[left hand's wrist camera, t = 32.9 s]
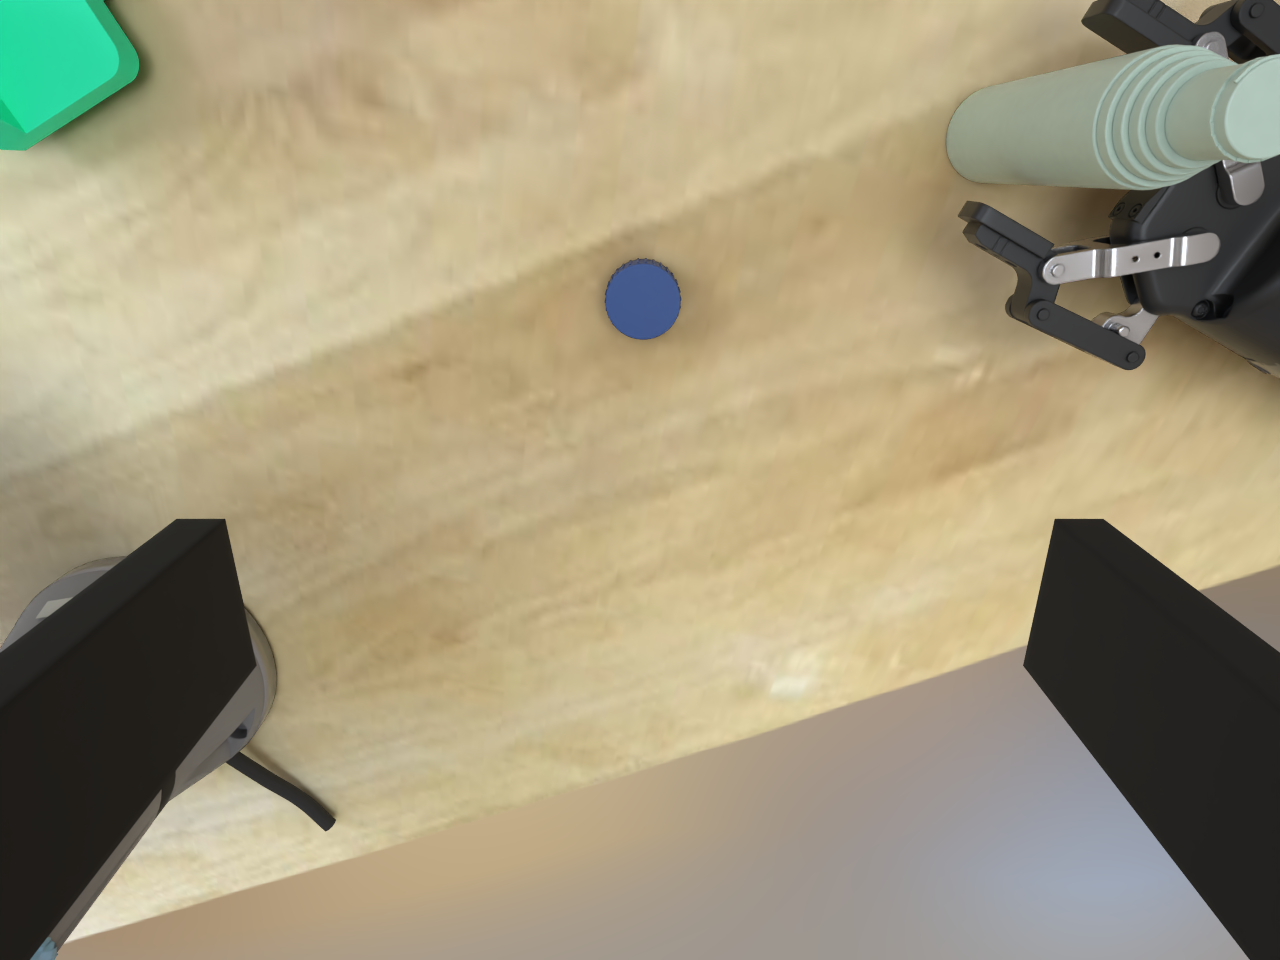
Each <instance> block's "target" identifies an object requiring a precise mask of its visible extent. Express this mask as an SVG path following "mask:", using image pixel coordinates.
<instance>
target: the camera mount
mask: <svg viewBox="0 0 1280 960" xmlns="http://www.w3.org/2000/svg"><path fill="white" fill-rule="evenodd" d="M103 1H104V0H0V149H1V150H27V149H29V148H30V147H32V146H33V145H35V144H36V143H38V142H39V141H41V140H42V139H44V138H46V137H47V136H49V135H50V134H52V133H53V132H55V131H56V130H58V129H59V128H61V127H63V126H64V125H66V124H67V123H69V122H70V121H72V120H73V119H75V118H76V117H78V116H80V115H81V114H83V113H84V112H86V111H87V110H89V109H90V108H92V107H93V106H95V105H97V104H98V103H100V102H101V101H103V100H104V99H106V98H107V97H109V96H110V95H112V94H114V93H115V92H117V91H118V90H120V89H121V88H123V87H124V86H126V85H127V84H129V83H131V82H132V81H133V80H134V79H135V78H136V76H137V74H138V71H139V59H138V55H137V53H136V51H135V49H134V47H133V46H132V44H131V42H130V41H129V39H128V38H127V36H126V35H125V33H124V32H123V30H122V29H121V27H120V26H119V24H118V23H117V21H116V20H115V18H114V17H113V15H112V14H111V12H110V11H109V9H108V8H107V6H106V5H105V3H104V2H103Z"/></svg>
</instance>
